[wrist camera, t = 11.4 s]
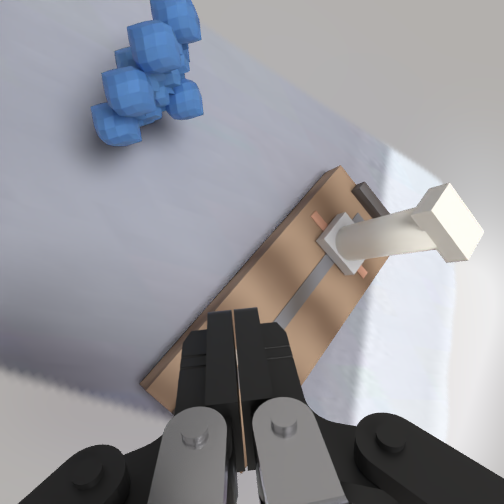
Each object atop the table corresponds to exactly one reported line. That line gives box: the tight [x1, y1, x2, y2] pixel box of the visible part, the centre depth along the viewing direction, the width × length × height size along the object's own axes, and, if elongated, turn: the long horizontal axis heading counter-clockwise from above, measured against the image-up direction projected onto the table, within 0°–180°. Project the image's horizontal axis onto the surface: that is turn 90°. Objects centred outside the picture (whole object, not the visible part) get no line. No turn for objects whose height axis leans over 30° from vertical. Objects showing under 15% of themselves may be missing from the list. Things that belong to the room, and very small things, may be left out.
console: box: [140, 165, 390, 473], centre depth 33 cm, size 26×10×4 cm, turn 135°
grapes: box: [91, 0, 203, 146], centre depth 26 cm, size 12×7×12 cm, turn 152°
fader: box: [316, 183, 484, 275], centre depth 30 cm, size 4×4×12 cm
